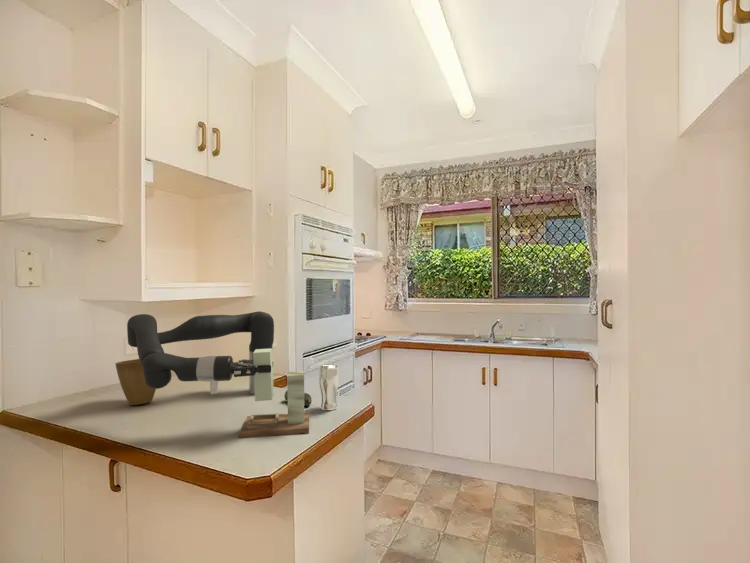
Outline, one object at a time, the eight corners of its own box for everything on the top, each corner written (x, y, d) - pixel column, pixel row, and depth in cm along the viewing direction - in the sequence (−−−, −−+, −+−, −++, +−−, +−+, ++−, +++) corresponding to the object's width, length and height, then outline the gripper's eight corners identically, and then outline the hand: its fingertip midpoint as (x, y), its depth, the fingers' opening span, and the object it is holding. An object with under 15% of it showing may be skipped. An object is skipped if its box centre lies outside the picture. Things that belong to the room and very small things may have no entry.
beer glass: (320, 412, 134) (320, 369, 134) (318, 406, 141) (318, 365, 141) (340, 410, 136) (340, 368, 136) (337, 404, 143) (336, 364, 143)
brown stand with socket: (247, 420, 126) (247, 370, 126) (309, 417, 129) (309, 368, 129) (239, 437, 112) (239, 381, 112) (308, 433, 116) (308, 378, 116)
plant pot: (126, 409, 134) (123, 363, 135) (112, 405, 144) (109, 362, 145) (170, 399, 146) (167, 356, 147) (155, 395, 155) (152, 356, 156)
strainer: (218, 395, 155) (218, 358, 155) (201, 395, 155) (201, 358, 155) (225, 390, 162) (225, 354, 162) (209, 390, 162) (209, 354, 162)
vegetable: (281, 401, 147) (281, 388, 147) (293, 398, 151) (293, 386, 151) (303, 410, 137) (303, 396, 137) (315, 406, 141) (315, 393, 141)
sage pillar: (257, 395, 123) (255, 349, 122) (273, 394, 124) (271, 348, 123) (255, 401, 118) (253, 352, 117) (271, 400, 119) (269, 351, 118)
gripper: (209, 361, 111) (269, 359, 114) (220, 352, 125) (274, 350, 128) (208, 387, 111) (269, 384, 114) (220, 375, 125) (274, 373, 128)
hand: (271, 366), depth 121 cm, fingers closed on sage pillar, 5 cm apart
